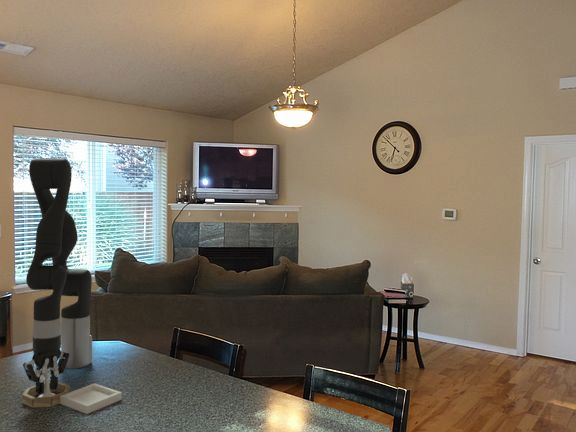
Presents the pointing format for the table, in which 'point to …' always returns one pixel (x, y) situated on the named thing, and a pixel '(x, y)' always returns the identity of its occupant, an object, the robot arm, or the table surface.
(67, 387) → the holder ring
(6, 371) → the table surface
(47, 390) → the chess piece
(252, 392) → the table surface
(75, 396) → the tray
